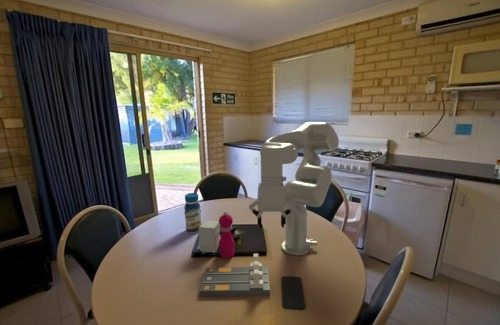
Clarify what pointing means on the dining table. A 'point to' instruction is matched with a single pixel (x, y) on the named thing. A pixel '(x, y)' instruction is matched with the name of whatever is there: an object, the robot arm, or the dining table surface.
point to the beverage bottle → (192, 213)
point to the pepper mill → (226, 236)
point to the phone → (292, 293)
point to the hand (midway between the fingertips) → (271, 226)
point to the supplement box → (209, 236)
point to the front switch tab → (256, 281)
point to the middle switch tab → (256, 267)
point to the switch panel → (232, 282)
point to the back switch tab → (253, 263)
